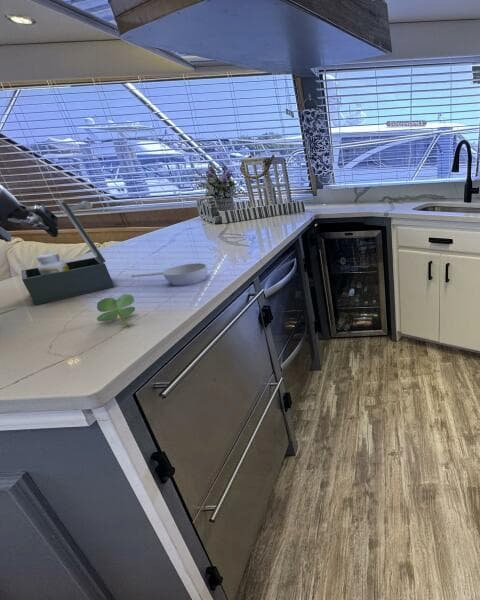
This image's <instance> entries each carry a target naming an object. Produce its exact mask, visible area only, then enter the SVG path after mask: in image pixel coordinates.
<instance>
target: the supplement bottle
mask: <svg viewBox="0 0 480 600" xmlns="http://www.w3.org/2000/svg"><path fill="white" fill-rule="evenodd" d="M36 259H37V262H38V263H40V264H39V265H38V266H37V268H38V270H39V272H40V273H41V275H46V274H51V273H56V272H62V271H67V270H69V268H68V266H67V264H66V262H65V261H63V260H60V259H61V258H60V255H59V253H57V252H54V253H53V252H52V253H46V254H41V255H38V256H36Z"/></svg>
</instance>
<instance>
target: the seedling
mask: <svg viewBox="0 0 480 600" xmlns="http://www.w3.org/2000/svg"><path fill="white" fill-rule="evenodd" d="M134 302H135V297H134V296H133V295H132V294H129V293H125V294H122V295H121V296H120V297H118V298H117V299H116V298H115V297H105V298H103V299H101V300H99V301H98V302H97V303H96V309H97V311H99V312H100V313H101V314H100V315H98V316H97V317H96V320H97V322H110V321H115V320H117V319H118V317H119V318H121V320H122V322H123V323H125V325H126V326H127V327H130V324H129V323H128V322H126V321H125V319H124V318H127V317H129V316H131V315H132V314H133V313H134V312H135V311H136V307H135V306H131V305H132V304H133V303H134Z"/></svg>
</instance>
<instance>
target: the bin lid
mask: <svg viewBox="0 0 480 600" xmlns="http://www.w3.org/2000/svg"><path fill="white" fill-rule="evenodd" d="M56 202H57V204H58V205H59V206H60V208H61V210H62V211H63V212H64V213H65V215H66V217H68V219H69V221H70V222H71V223H72V225H73V227H74V228H75V230H76V231H77V232H78V233H79V235H80V236H81V238H82V240H83V241H84V242H85V244H86V245H87V246H88V248H89V250H90V251H91V252H92V254H93V256H94V257H97V258H98V259H99V260H100V261H101V262H102V263H106V262H107V260H106V259H105V258H104V256H103V255H102V254H101V252H100V251H99V249H98V247H97V246H96V245H95V243H94V241H93V240H92V239H91V237H90V235H88V233H87V231H86V230H85V228H84V227H83V226H82V224H81V222H80V221H79V220H78V218H77V216H76V215H75V214H74V213H73V211H75V210H80V209H84V208H85V209H88V210H90V209H92V208H93V206H94V205H93V203H92V202H90V201H88V200H82V201H81V202H80V203H79V204H75V205H70V206H69V204H68V203H67V202H66V201H64V200H62V199H58V200H56Z"/></svg>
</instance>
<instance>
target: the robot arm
mask: <svg viewBox="0 0 480 600" xmlns="http://www.w3.org/2000/svg"><path fill="white" fill-rule="evenodd" d="M28 217H29V220H28ZM1 225H2V226H13V225H17V226H18V225H19V226H20V225H25V226H28V227H31V228H34V227H36V228H40V229H42V230H44V232H46V233H47V234H48V235H49V236H50V237H52V238H57V237H58V236H59V230H58V228H57V227H58V216H57V215H55V213H53V212H52V211H51V210H50V209H48V208H47V206H45V205H44V204H43V203H42V202H35V203H34V205H32V206H26V205H24V204H22V203H20V201H18V199H17V198H16V197H15V196H14V194H12V193H11V192H10V191H9V190H8V189H6V188H5V186H3V185H2V184H1V183H0V240H1V241H4V242H6V243H10V242H12V234H11V233H10V232H9V231H7V230H6V229H4V227H2V226H1Z"/></svg>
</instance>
